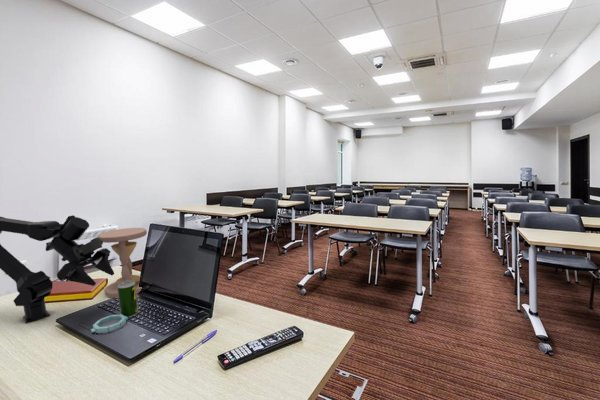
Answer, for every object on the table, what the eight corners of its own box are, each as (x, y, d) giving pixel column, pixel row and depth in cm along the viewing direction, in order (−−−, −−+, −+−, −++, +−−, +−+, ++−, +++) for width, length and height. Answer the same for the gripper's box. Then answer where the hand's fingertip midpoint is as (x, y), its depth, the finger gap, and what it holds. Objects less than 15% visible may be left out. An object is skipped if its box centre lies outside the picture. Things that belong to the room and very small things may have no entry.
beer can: (121, 320, 101) (117, 286, 99) (120, 314, 105) (116, 281, 104) (139, 315, 104) (135, 282, 102) (137, 309, 108) (134, 278, 107)
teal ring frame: (87, 328, 96) (87, 323, 96) (122, 315, 104) (121, 311, 104) (96, 338, 91) (96, 332, 90) (132, 324, 98) (132, 318, 98)
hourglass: (114, 284, 134) (107, 229, 131) (156, 279, 138) (150, 226, 135) (97, 301, 117) (89, 239, 114) (146, 294, 121) (139, 234, 118)
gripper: (60, 239, 92) (99, 272, 93) (102, 226, 111) (134, 254, 112) (39, 264, 94) (78, 297, 94) (84, 248, 112) (116, 275, 113)
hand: (104, 279), depth 103 cm, fingers open, 9 cm apart
